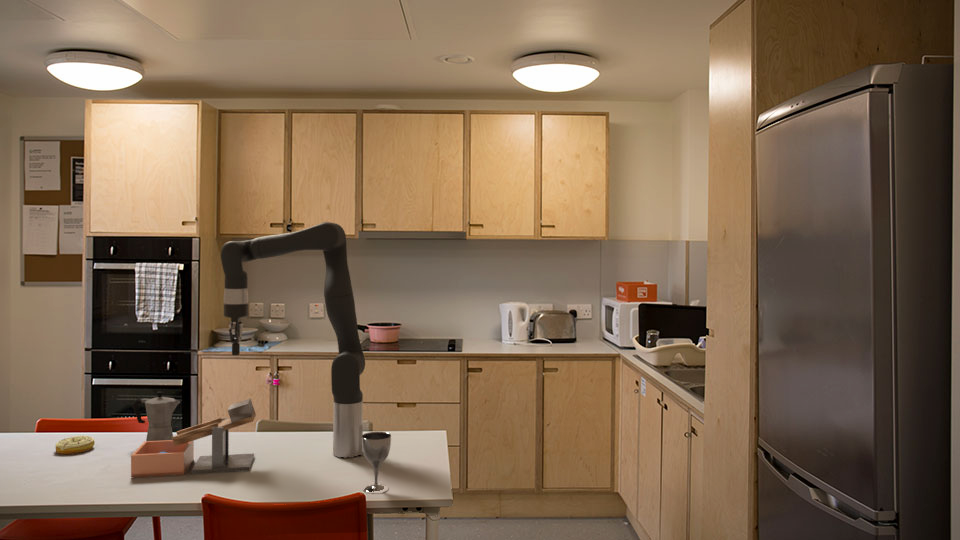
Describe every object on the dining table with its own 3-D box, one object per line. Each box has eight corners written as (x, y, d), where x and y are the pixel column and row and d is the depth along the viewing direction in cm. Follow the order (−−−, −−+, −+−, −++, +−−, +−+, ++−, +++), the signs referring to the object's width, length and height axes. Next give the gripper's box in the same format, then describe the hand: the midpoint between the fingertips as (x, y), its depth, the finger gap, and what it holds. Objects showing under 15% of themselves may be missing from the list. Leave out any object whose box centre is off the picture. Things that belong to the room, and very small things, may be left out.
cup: (193, 459, 205) (193, 439, 205) (183, 475, 191) (183, 452, 191) (144, 462, 202) (144, 441, 202) (131, 478, 188) (131, 455, 188)
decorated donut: (52, 450, 213) (51, 438, 213) (89, 443, 221) (89, 432, 221) (59, 457, 206) (59, 445, 206) (98, 450, 213) (98, 439, 213)
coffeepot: (185, 441, 224) (185, 388, 224) (173, 449, 215) (173, 394, 214) (139, 441, 224) (139, 388, 223) (125, 449, 214) (125, 394, 214)
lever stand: (254, 457, 209) (254, 416, 208) (249, 470, 196) (249, 427, 195) (200, 460, 205) (200, 418, 205) (191, 474, 192) (191, 429, 192)
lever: (256, 414, 206) (250, 398, 205) (253, 421, 198) (247, 404, 198) (180, 439, 201) (174, 422, 201) (174, 446, 193) (168, 429, 193)
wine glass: (362, 484, 186) (363, 431, 186) (391, 483, 187) (391, 431, 187) (360, 494, 178) (360, 439, 178) (389, 494, 179) (390, 439, 179)
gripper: (245, 303, 210) (245, 358, 211) (250, 300, 223) (250, 351, 223) (220, 304, 208) (220, 358, 209) (227, 300, 221) (226, 352, 222)
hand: (235, 354), depth 216 cm, fingers closed
